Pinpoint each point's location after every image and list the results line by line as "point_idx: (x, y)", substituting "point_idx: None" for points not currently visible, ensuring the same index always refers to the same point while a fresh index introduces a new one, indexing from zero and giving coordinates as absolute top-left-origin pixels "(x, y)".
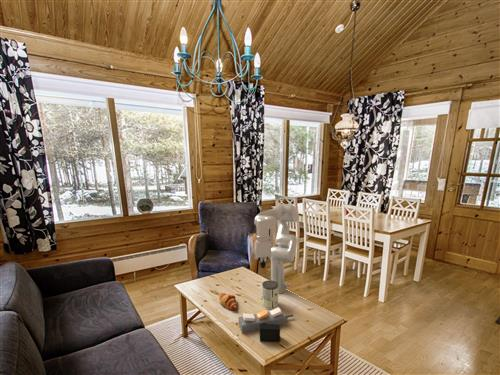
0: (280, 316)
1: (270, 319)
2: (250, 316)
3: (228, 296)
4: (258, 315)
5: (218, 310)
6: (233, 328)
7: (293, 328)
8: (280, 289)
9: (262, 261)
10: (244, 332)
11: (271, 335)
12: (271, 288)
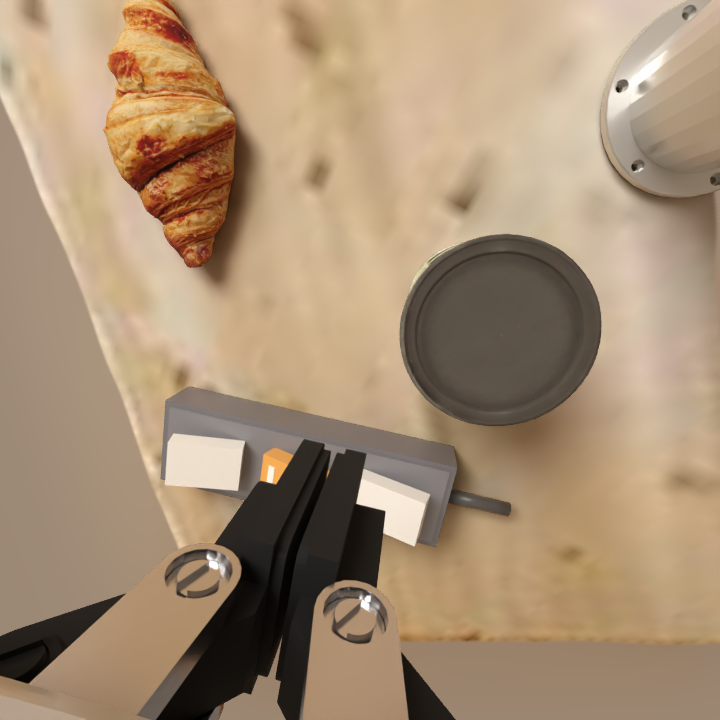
0: None
1: None
2: (210, 474)
3: (136, 151)
4: (266, 481)
5: (106, 195)
6: (153, 405)
7: (448, 560)
8: (691, 170)
9: (220, 704)
10: None
11: None
12: (454, 417)
